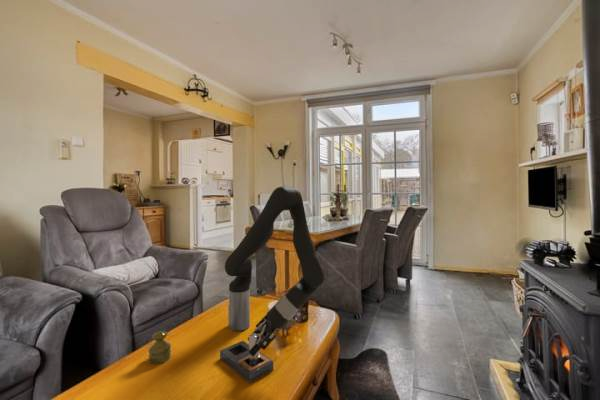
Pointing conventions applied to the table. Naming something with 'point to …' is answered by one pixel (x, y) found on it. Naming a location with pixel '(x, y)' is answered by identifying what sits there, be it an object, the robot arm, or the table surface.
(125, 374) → the table surface
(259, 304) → the table surface
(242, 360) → the block with square holes
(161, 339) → the bronze chess pawn
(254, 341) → the steel peg
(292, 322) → the lion figurine
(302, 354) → the table surface
